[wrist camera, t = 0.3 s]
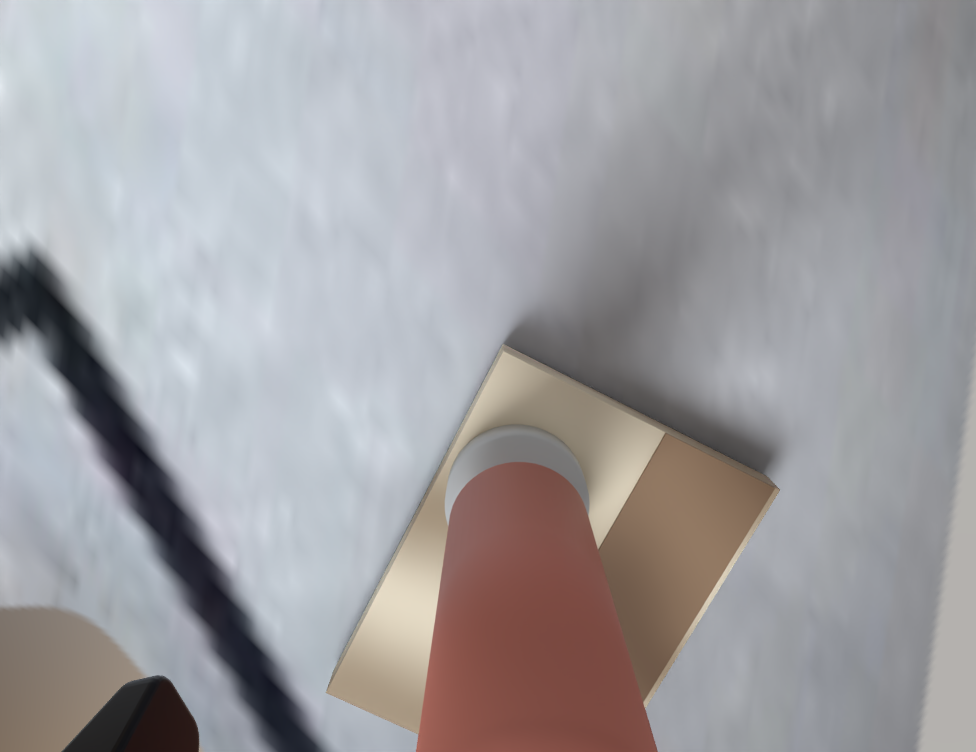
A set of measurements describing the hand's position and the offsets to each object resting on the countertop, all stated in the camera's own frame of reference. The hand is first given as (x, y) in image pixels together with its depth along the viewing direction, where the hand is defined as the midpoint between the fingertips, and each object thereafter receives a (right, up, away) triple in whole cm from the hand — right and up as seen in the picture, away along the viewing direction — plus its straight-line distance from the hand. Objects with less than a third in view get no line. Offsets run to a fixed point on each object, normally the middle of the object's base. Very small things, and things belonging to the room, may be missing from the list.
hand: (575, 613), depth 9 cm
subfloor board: (+1, -4, +17) cm, 17 cm away
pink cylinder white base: (0, -1, +15) cm, 15 cm away
